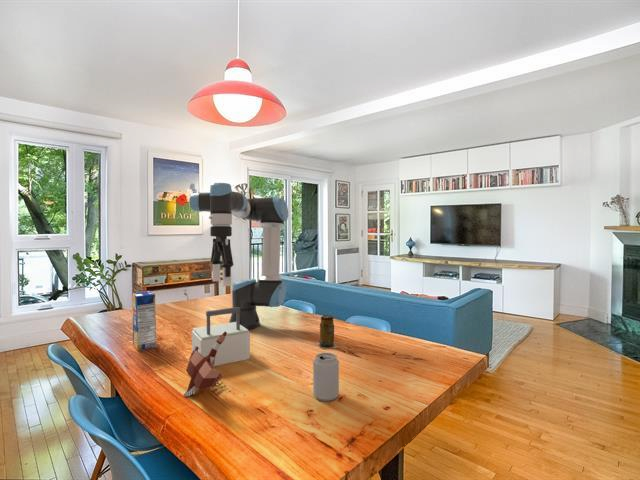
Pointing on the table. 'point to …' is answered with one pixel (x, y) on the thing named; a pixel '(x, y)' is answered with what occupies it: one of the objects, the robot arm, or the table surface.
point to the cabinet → (224, 347)
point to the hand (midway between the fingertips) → (221, 283)
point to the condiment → (327, 333)
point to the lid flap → (221, 325)
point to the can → (326, 376)
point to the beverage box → (144, 320)
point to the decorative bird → (204, 369)
